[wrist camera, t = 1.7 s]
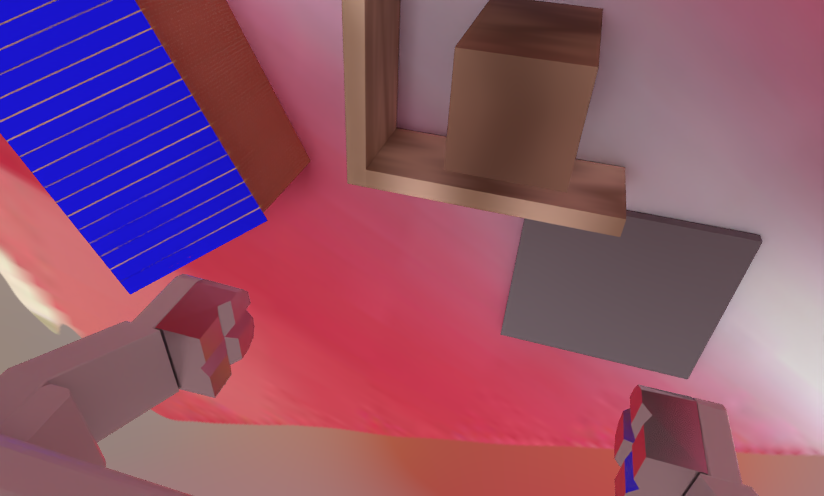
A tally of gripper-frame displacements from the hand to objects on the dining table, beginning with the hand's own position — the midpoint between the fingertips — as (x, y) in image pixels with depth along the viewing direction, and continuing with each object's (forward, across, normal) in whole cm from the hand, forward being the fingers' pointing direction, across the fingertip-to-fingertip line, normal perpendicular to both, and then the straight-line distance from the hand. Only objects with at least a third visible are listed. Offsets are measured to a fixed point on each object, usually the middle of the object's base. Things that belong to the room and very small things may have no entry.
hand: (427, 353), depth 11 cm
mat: (+20, -8, +13) cm, 25 cm away
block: (+20, 0, 0) cm, 20 cm away
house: (+21, +21, +2) cm, 30 cm away
